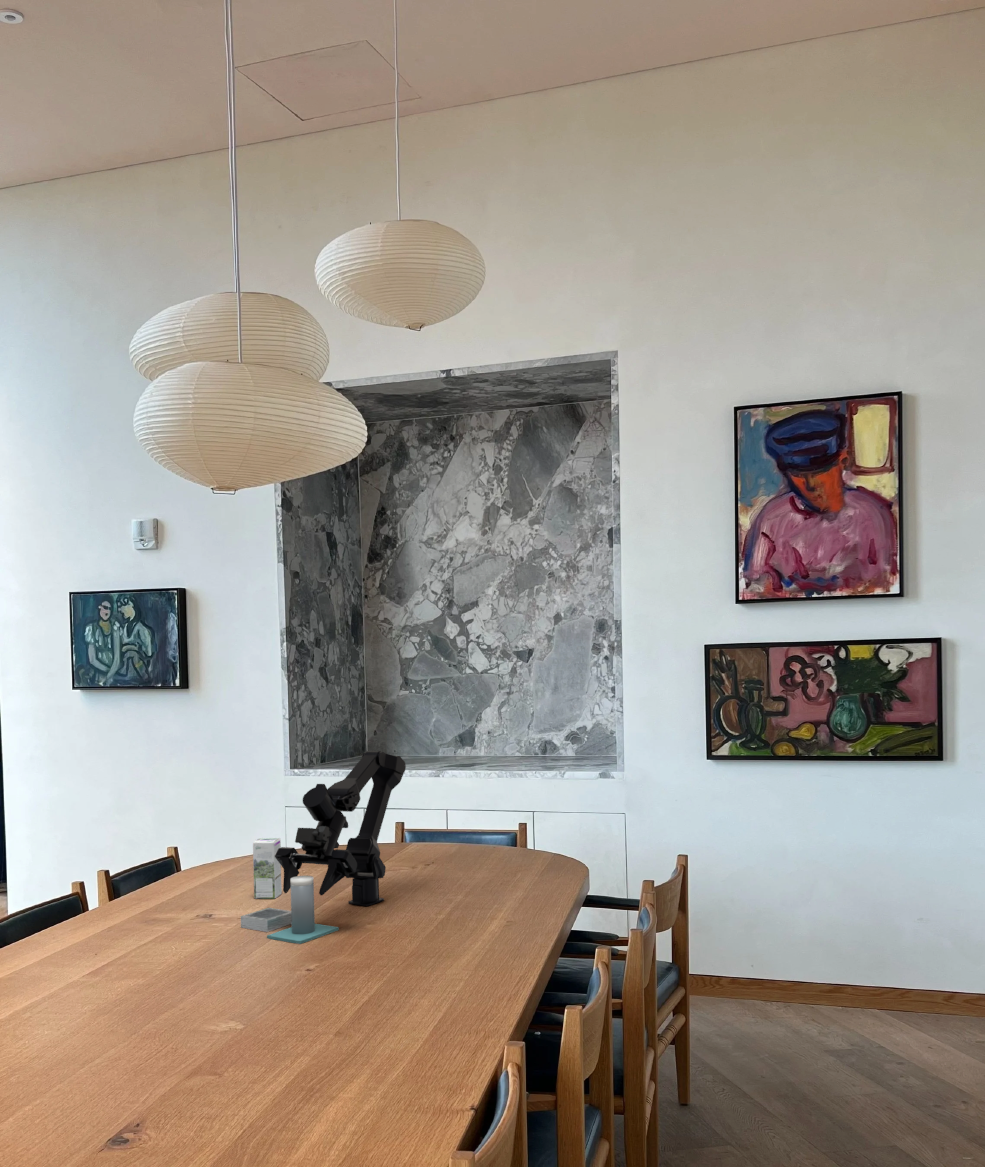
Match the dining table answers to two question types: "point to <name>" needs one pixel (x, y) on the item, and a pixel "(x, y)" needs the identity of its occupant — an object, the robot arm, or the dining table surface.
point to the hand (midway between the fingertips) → (302, 893)
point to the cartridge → (302, 904)
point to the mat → (302, 938)
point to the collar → (266, 919)
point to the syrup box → (266, 868)
